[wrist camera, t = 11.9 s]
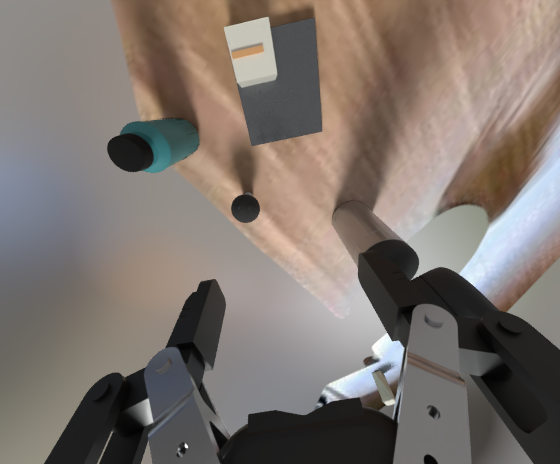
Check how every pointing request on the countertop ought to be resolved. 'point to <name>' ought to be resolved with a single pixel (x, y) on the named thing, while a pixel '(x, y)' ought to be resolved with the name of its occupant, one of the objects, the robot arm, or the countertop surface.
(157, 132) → the beverage bottle
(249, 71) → the white box
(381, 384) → the cream upright cylinder
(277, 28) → the plate
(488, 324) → the robot arm
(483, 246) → the countertop surface
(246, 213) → the light bulb
